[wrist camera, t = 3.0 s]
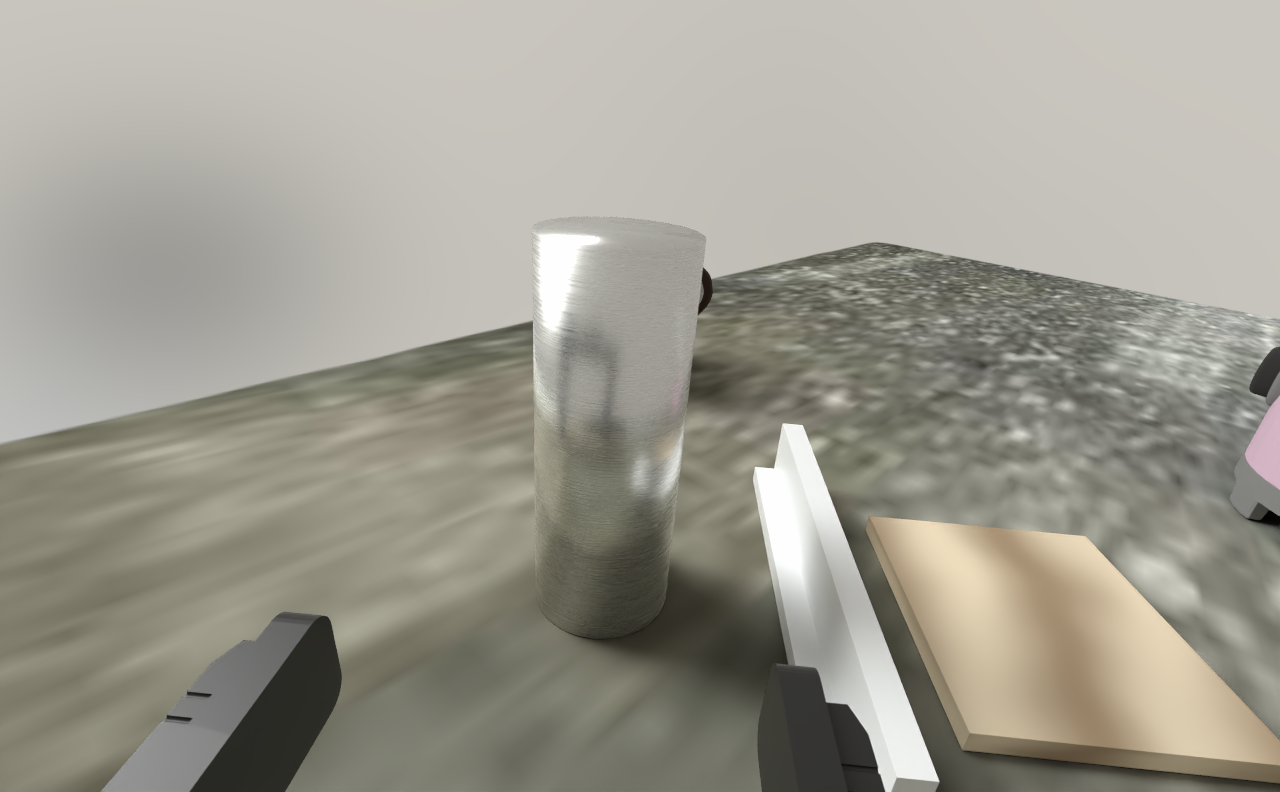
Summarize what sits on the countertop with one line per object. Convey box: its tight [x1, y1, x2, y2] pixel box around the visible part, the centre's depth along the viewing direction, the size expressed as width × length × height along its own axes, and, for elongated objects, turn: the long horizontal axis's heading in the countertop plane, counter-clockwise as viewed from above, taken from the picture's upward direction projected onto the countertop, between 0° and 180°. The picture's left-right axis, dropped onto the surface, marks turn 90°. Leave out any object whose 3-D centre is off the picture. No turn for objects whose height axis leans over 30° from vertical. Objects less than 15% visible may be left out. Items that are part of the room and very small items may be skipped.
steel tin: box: [532, 217, 706, 639], centre depth 21 cm, size 5×5×14 cm
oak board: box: [866, 516, 1280, 783], centre depth 23 cm, size 10×11×1 cm
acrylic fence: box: [753, 424, 939, 792], centre depth 23 cm, size 3×18×4 cm, turn 176°
